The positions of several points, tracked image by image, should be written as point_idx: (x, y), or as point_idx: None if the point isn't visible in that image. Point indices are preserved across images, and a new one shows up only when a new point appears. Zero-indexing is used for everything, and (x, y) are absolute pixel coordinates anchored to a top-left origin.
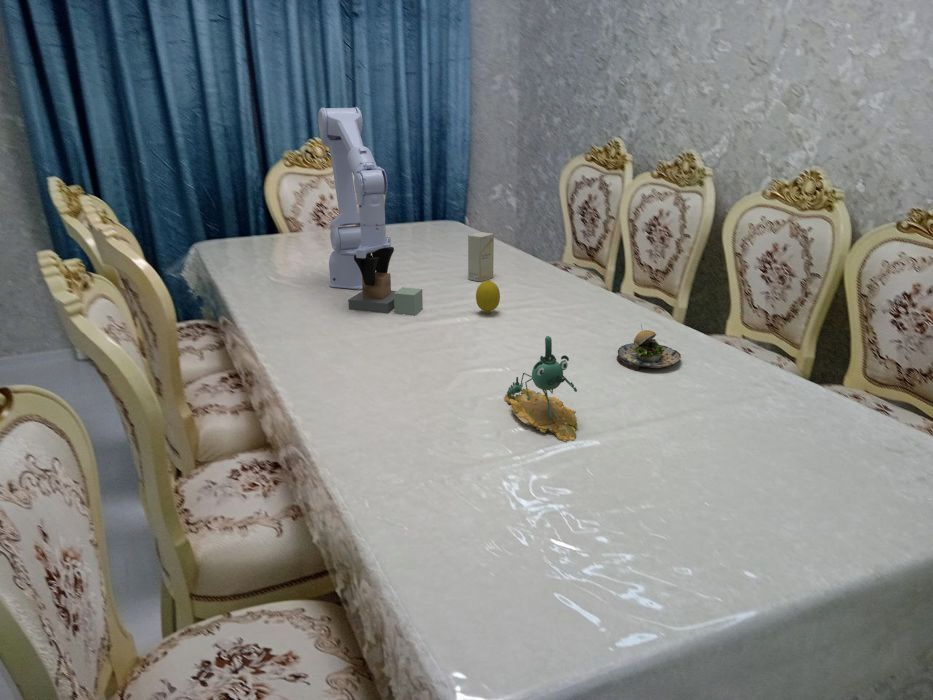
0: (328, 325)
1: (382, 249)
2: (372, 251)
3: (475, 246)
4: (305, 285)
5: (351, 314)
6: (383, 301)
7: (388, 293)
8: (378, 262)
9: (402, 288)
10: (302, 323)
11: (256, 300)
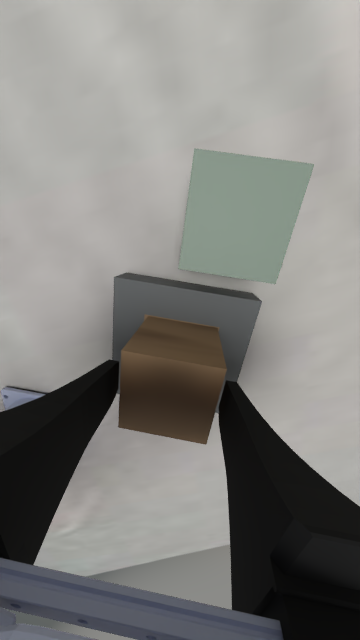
0: (347, 408)
1: (1, 529)
2: (185, 617)
3: None
4: (83, 488)
5: (261, 380)
6: (237, 319)
7: (166, 322)
8: (80, 440)
9: (196, 263)
10: (325, 454)
11: (186, 529)
